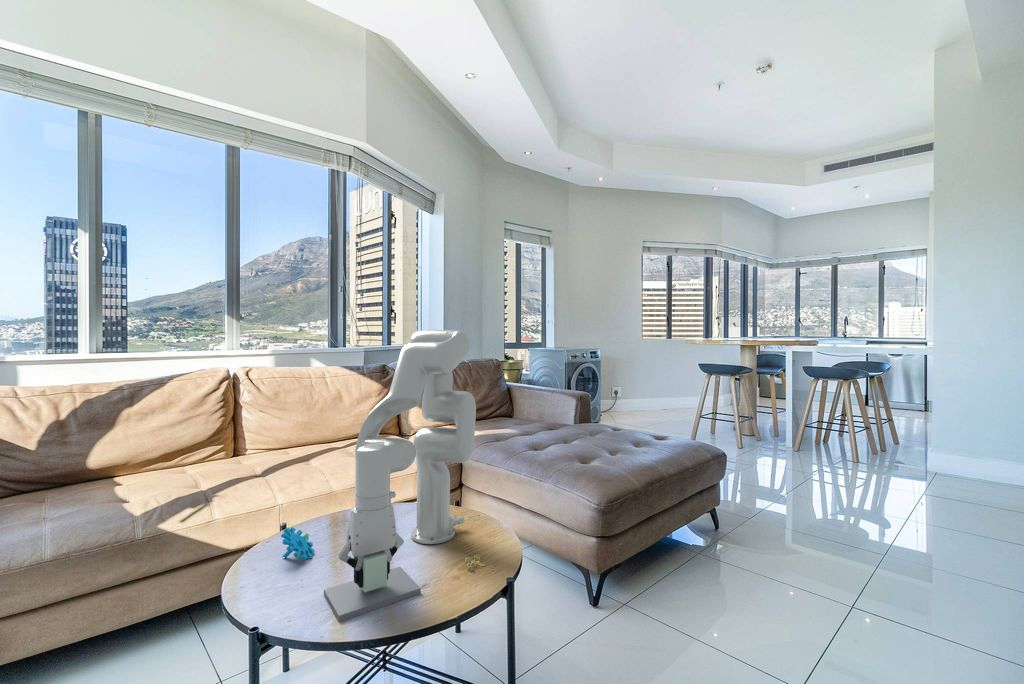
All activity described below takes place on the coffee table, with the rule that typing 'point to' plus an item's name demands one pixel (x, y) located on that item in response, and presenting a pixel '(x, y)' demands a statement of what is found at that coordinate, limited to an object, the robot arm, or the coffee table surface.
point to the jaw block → (374, 571)
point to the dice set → (472, 562)
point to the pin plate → (369, 595)
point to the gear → (297, 543)
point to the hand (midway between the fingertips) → (372, 580)
